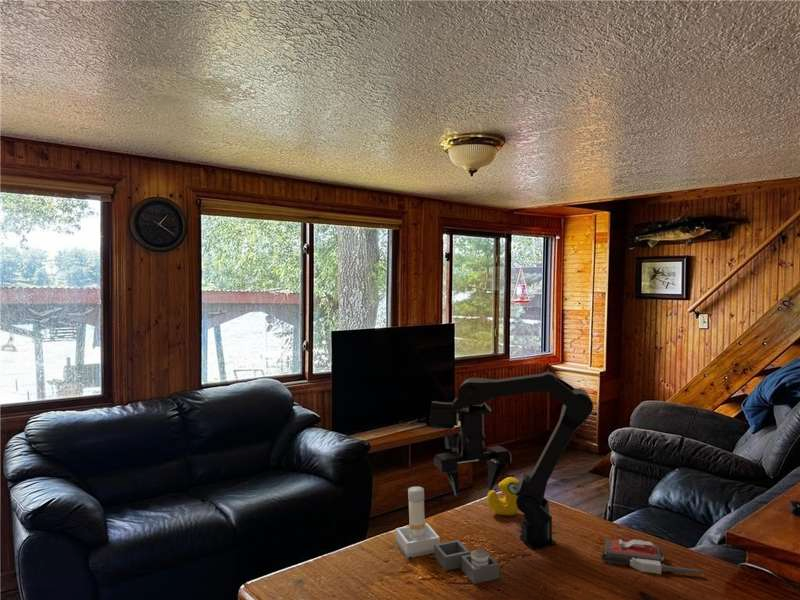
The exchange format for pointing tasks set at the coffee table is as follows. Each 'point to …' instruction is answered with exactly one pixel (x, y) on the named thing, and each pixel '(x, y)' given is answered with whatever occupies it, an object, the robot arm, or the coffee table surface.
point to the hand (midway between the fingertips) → (473, 492)
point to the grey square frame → (450, 554)
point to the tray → (416, 542)
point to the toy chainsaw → (639, 556)
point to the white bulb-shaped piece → (416, 513)
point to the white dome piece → (479, 558)
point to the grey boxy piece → (480, 570)
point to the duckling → (508, 502)
